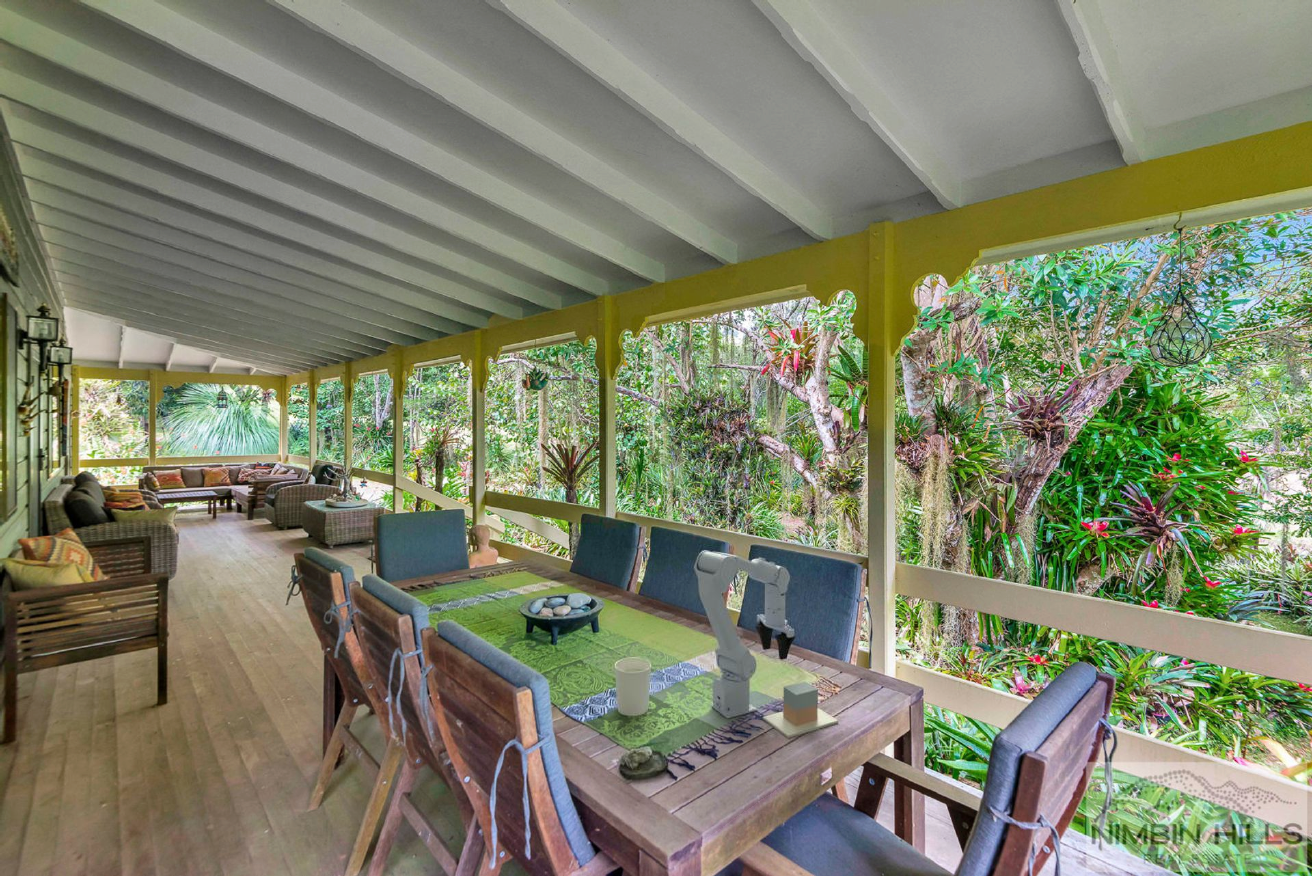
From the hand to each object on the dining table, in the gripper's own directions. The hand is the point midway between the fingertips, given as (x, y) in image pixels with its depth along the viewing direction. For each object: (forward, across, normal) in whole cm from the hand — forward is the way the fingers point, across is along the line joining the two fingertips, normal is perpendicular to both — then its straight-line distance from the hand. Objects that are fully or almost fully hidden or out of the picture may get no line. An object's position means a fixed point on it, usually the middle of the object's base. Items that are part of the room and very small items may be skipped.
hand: (774, 653), depth 166 cm
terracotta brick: (+10, -17, +5) cm, 20 cm away
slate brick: (+6, -17, +5) cm, 19 cm away
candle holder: (+11, +8, +41) cm, 43 cm away
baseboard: (+10, -17, +5) cm, 21 cm away
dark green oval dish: (+11, -17, +49) cm, 53 cm away
